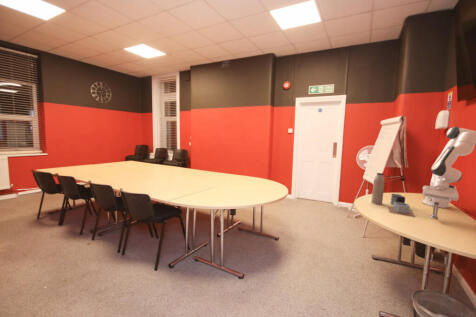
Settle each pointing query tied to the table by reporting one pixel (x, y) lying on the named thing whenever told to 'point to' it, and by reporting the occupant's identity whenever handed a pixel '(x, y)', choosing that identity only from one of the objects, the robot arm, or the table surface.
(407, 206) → the utensil crock
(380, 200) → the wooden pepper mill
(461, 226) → the table surface
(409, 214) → the serving board
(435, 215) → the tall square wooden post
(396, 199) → the small box
